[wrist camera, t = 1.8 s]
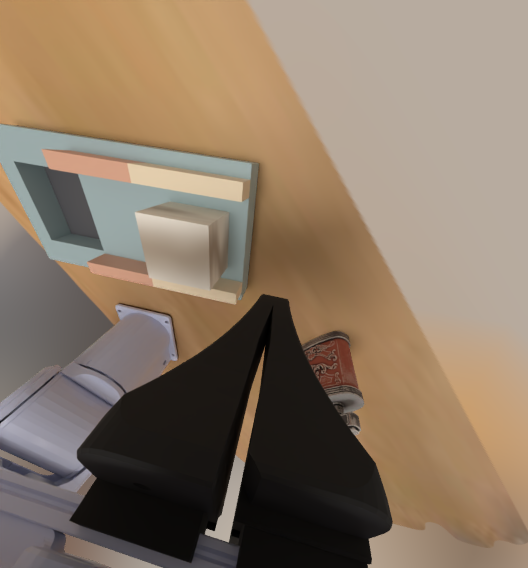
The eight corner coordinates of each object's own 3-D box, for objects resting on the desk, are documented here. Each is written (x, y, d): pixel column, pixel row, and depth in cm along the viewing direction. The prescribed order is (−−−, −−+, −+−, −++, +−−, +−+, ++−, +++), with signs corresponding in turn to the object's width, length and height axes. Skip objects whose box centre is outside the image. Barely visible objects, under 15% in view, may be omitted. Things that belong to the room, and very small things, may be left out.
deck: (247, 287, 22) (234, 312, 19) (71, 250, 24) (28, 266, 20) (258, 163, 16) (244, 163, 12) (17, 125, 18) (-61, 116, 14)
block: (227, 267, 18) (210, 290, 15) (177, 257, 19) (149, 277, 16) (229, 211, 16) (208, 225, 12) (170, 201, 16) (134, 212, 13)
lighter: (303, 366, 28) (302, 455, 19) (286, 352, 27) (277, 439, 18) (355, 342, 24) (381, 441, 15) (337, 326, 23) (355, 421, 15)
